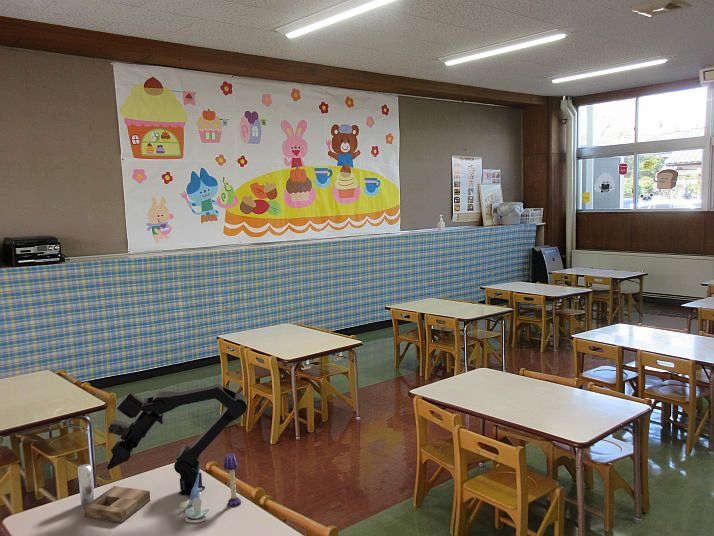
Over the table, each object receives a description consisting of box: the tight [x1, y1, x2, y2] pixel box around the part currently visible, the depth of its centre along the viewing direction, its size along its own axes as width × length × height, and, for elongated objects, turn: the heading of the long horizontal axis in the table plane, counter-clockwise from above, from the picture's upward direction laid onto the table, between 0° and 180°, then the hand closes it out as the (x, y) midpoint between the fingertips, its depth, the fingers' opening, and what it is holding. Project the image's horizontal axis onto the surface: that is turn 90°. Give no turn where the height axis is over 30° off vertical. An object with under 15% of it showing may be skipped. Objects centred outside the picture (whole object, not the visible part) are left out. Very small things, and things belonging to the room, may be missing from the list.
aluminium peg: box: [77, 463, 95, 509], centre depth 194 cm, size 4×4×13 cm
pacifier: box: [184, 497, 210, 524], centre depth 183 cm, size 7×6×6 cm
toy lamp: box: [223, 452, 242, 508], centre depth 191 cm, size 5×5×17 cm
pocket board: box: [83, 485, 151, 524], centre depth 191 cm, size 14×14×4 cm
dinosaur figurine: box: [179, 462, 203, 511], centre depth 193 cm, size 3×15×10 cm
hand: (111, 463), depth 195 cm, fingers open, 9 cm apart
